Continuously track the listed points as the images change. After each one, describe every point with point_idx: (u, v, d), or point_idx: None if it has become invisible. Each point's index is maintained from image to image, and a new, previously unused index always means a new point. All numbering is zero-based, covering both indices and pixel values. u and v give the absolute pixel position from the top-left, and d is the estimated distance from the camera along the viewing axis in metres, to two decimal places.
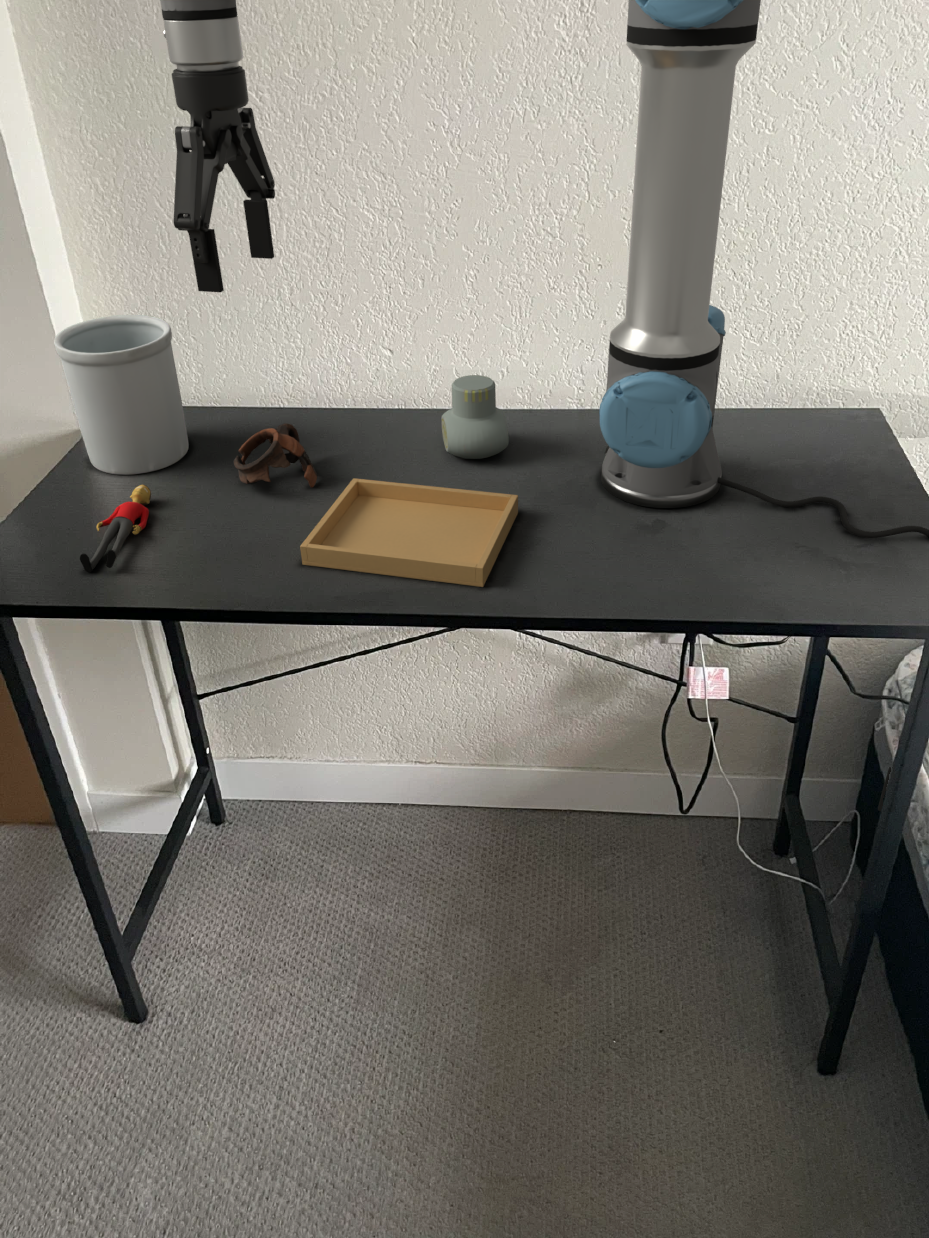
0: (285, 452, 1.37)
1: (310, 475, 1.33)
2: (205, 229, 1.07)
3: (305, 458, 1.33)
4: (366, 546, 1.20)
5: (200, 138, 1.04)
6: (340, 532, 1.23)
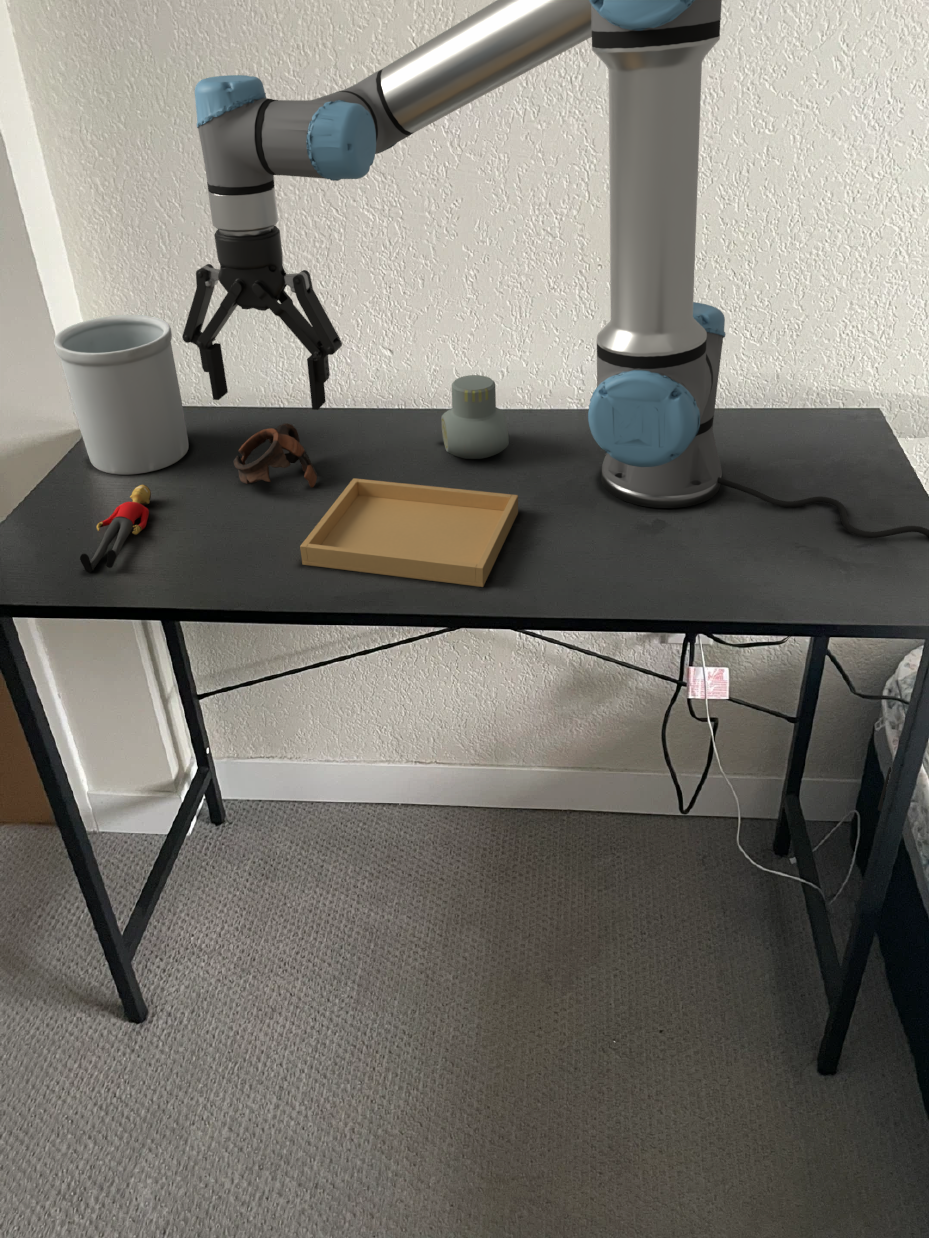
0: (285, 452, 1.37)
1: (310, 475, 1.33)
2: (199, 346, 1.27)
3: (305, 458, 1.33)
4: (366, 546, 1.20)
5: (202, 279, 1.22)
6: (340, 532, 1.23)
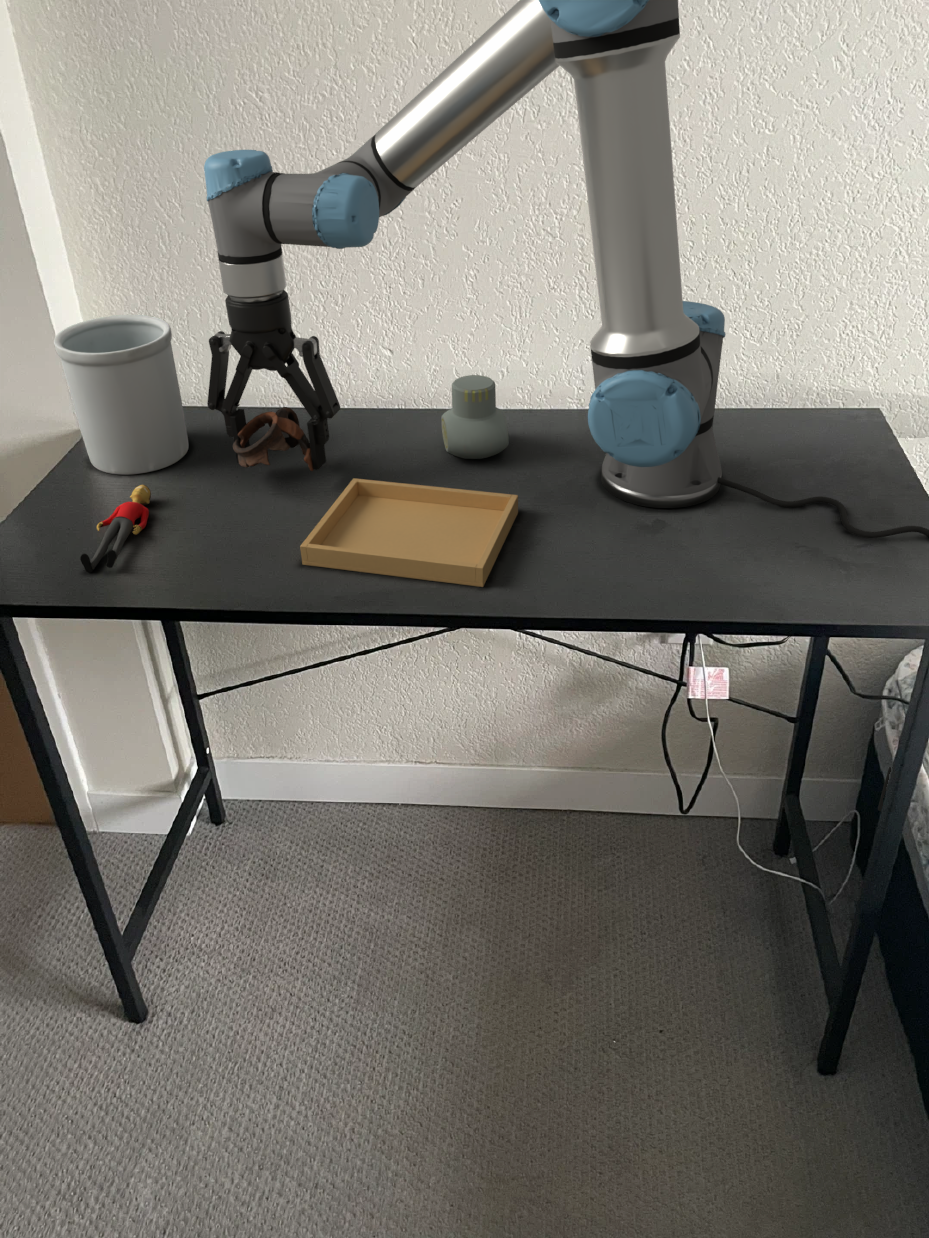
0: (285, 436, 1.36)
1: (310, 459, 1.32)
2: (224, 413, 1.32)
3: (305, 441, 1.31)
4: (366, 546, 1.20)
5: (215, 345, 1.26)
6: (340, 532, 1.23)
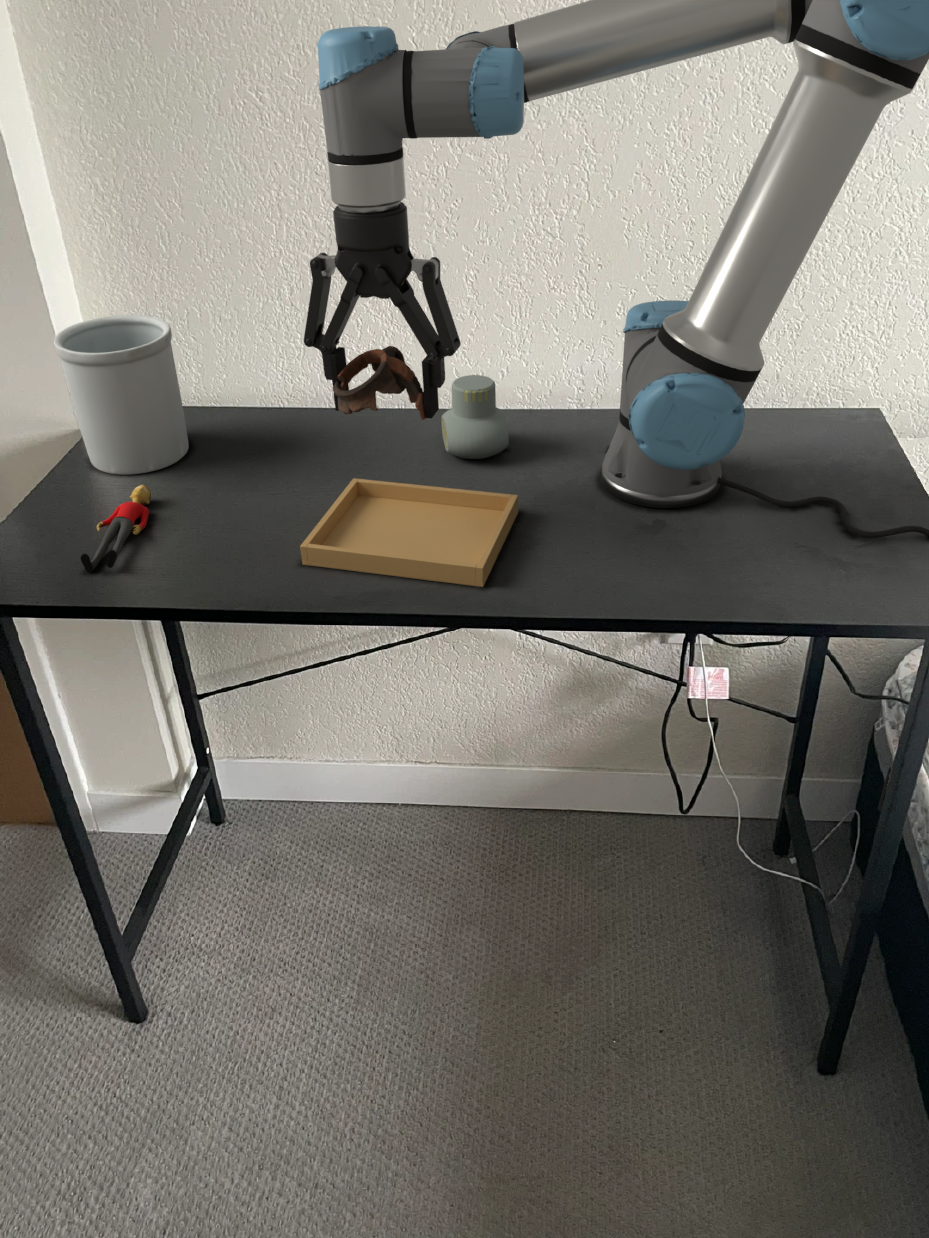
0: None
1: (422, 405, 1.13)
2: (322, 351, 1.13)
3: (417, 384, 1.12)
4: (366, 546, 1.20)
5: (317, 269, 1.08)
6: (340, 532, 1.23)
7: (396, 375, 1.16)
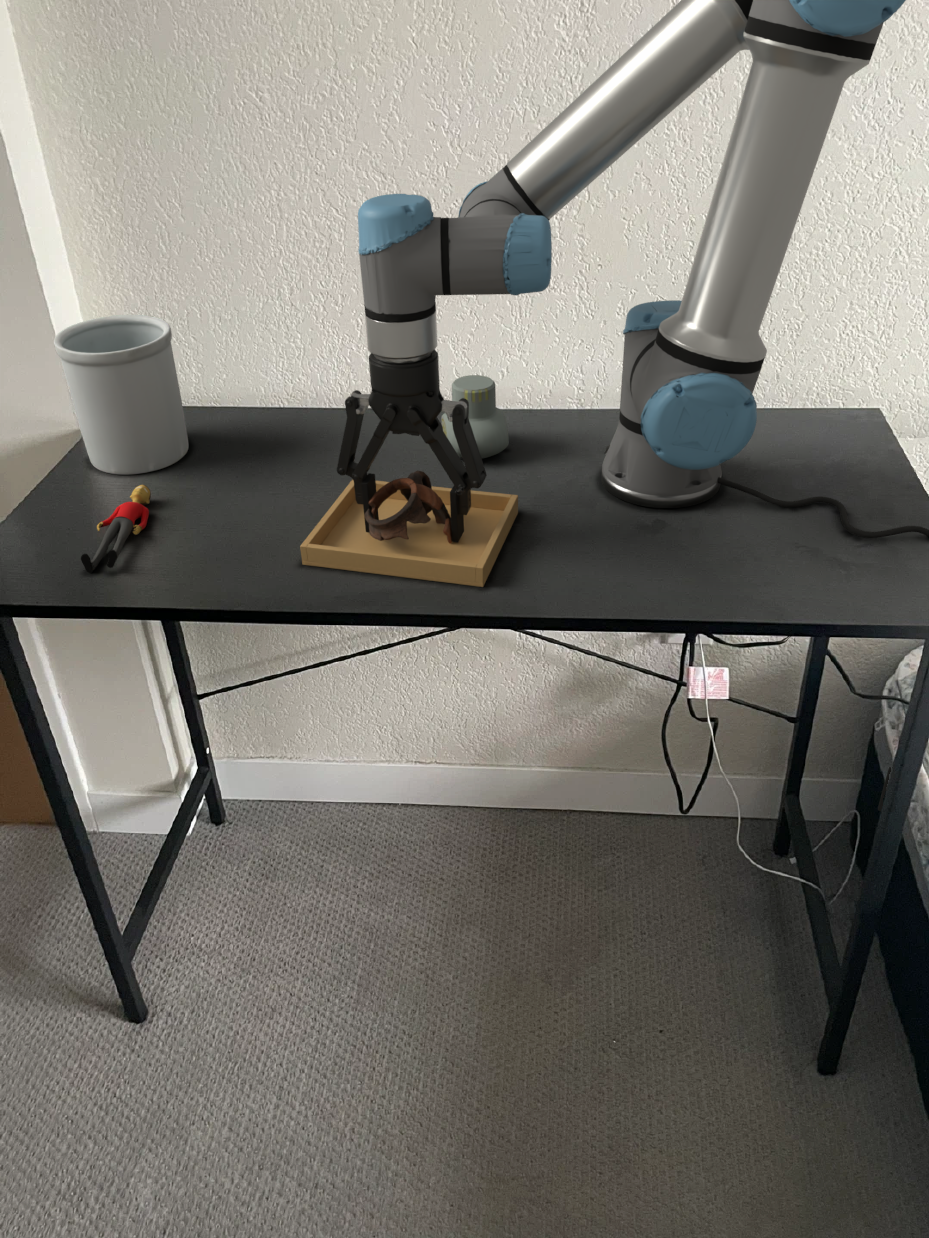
0: None
1: (449, 530, 1.19)
2: (355, 479, 1.19)
3: (444, 511, 1.19)
4: (366, 546, 1.20)
5: (352, 407, 1.14)
6: (340, 532, 1.23)
7: None
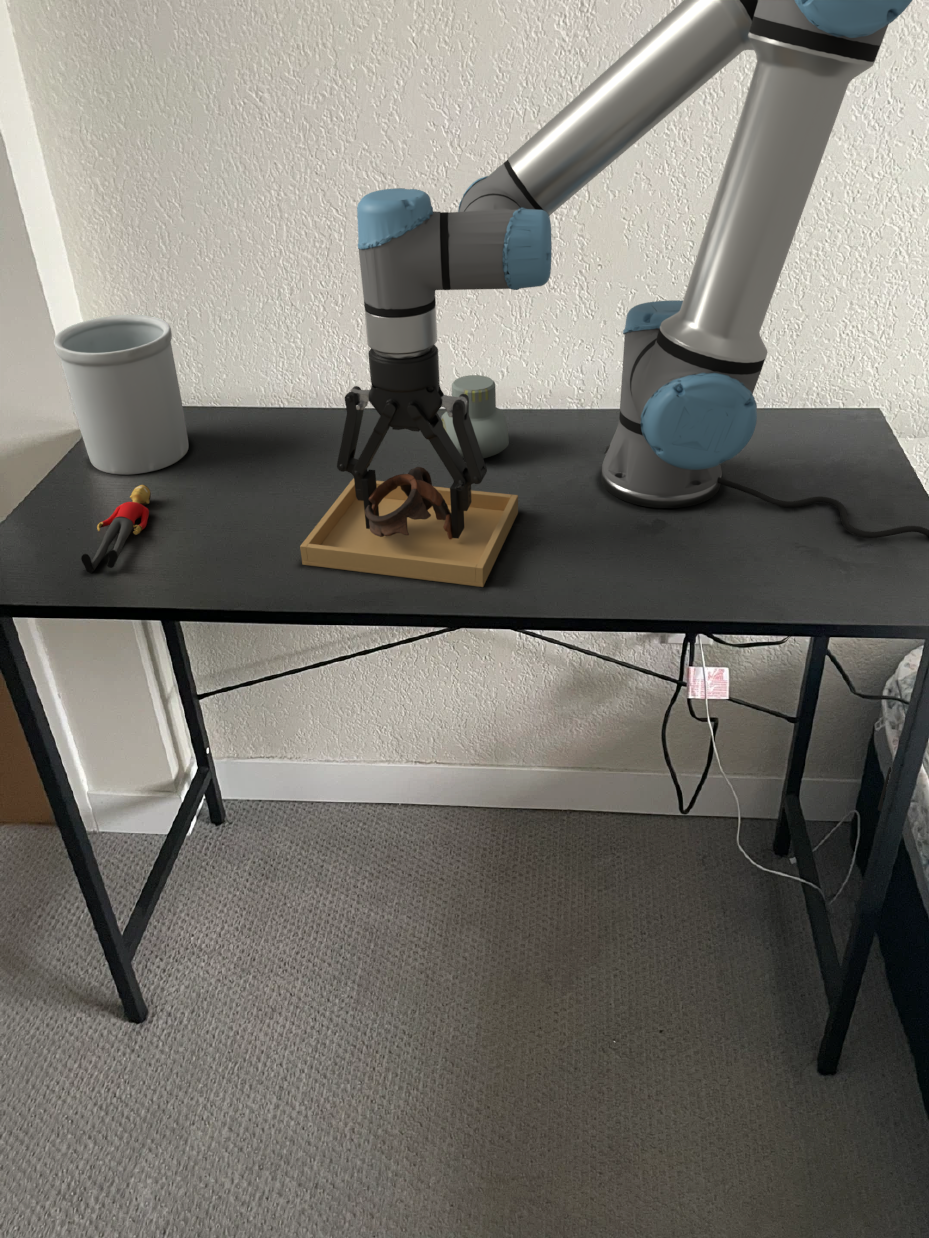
0: None
1: (450, 526, 1.19)
2: (355, 476, 1.19)
3: (445, 507, 1.18)
4: (366, 546, 1.20)
5: (352, 403, 1.13)
6: (340, 532, 1.23)
7: None
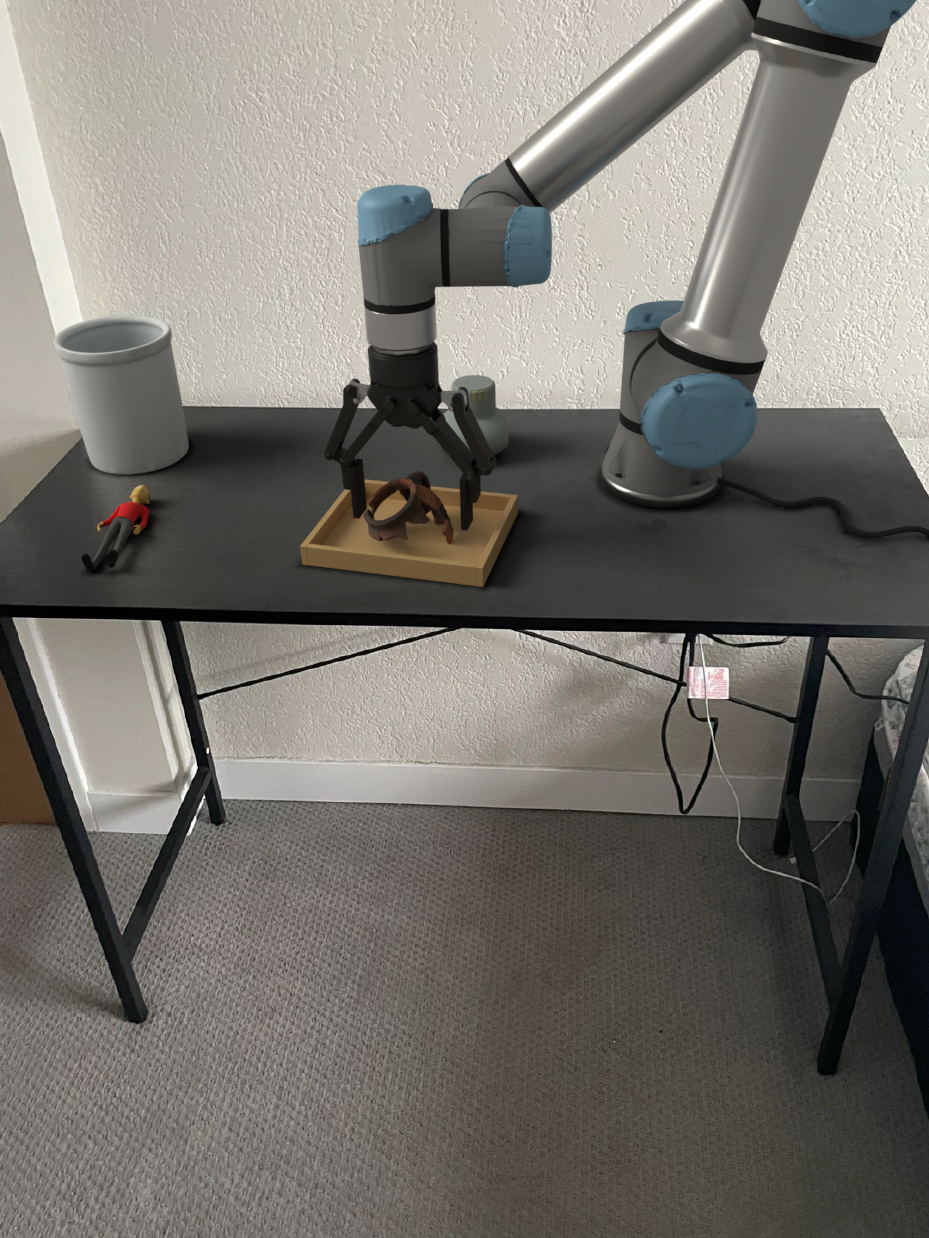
0: None
1: (448, 531, 1.19)
2: (341, 464, 1.18)
3: (444, 512, 1.19)
4: (366, 546, 1.20)
5: (350, 395, 1.13)
6: (340, 532, 1.23)
7: None
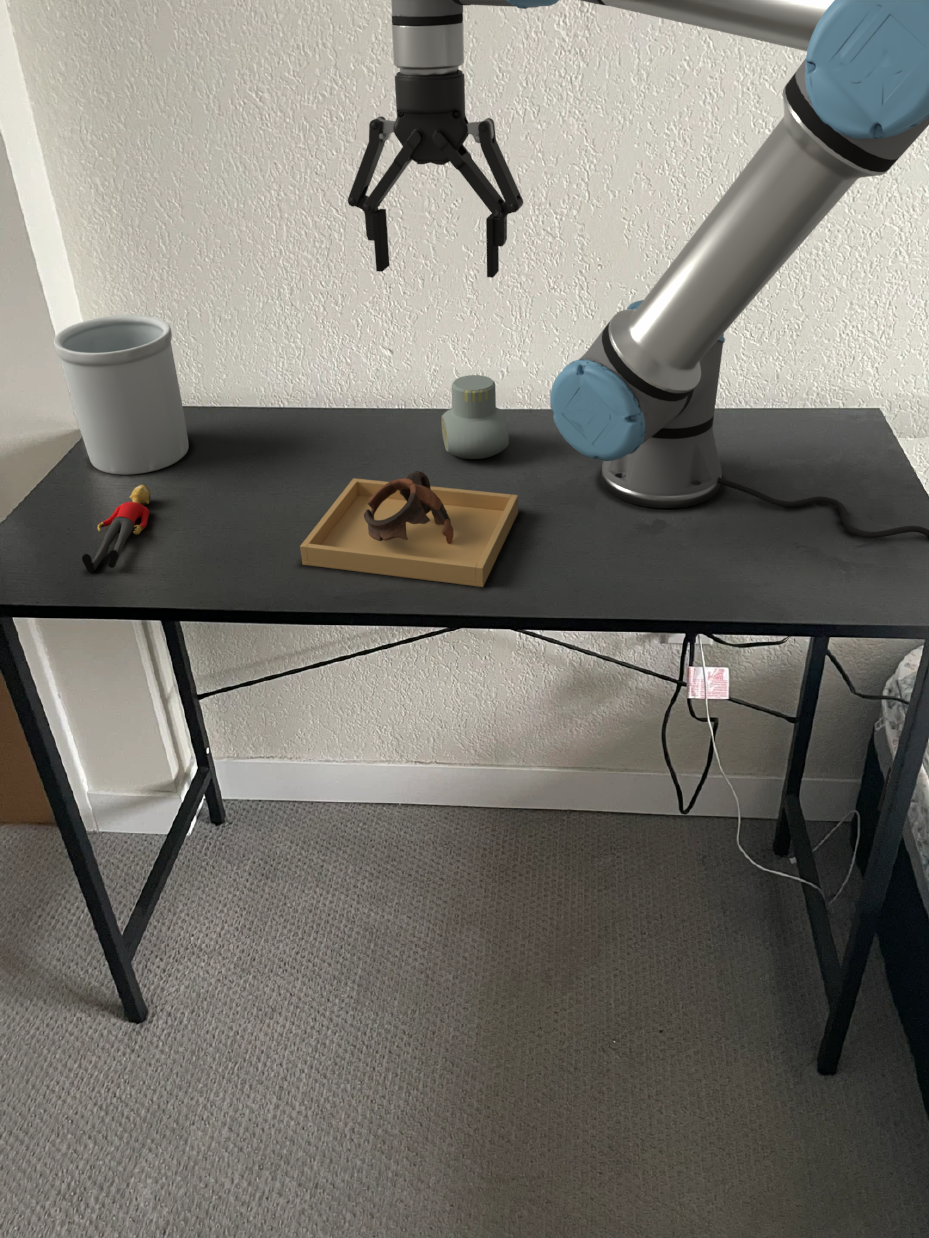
0: None
1: (448, 531, 1.19)
2: (365, 210, 1.18)
3: (444, 512, 1.19)
4: (366, 546, 1.20)
5: (376, 130, 1.13)
6: (340, 532, 1.23)
7: None
